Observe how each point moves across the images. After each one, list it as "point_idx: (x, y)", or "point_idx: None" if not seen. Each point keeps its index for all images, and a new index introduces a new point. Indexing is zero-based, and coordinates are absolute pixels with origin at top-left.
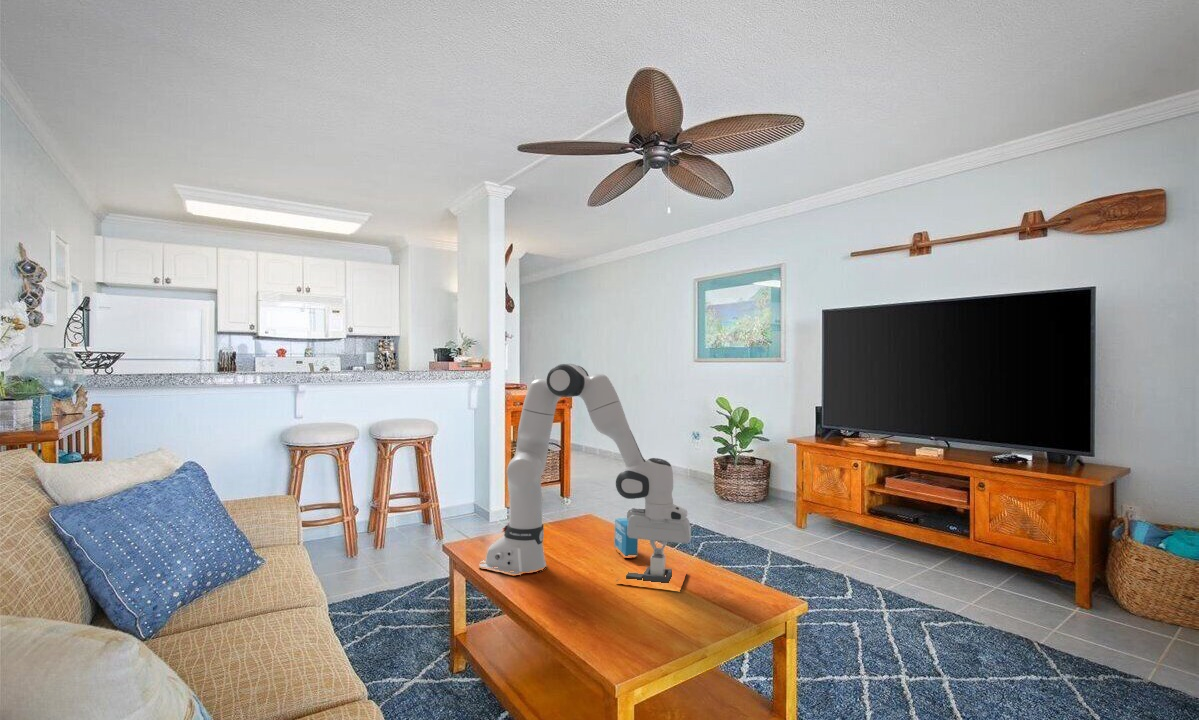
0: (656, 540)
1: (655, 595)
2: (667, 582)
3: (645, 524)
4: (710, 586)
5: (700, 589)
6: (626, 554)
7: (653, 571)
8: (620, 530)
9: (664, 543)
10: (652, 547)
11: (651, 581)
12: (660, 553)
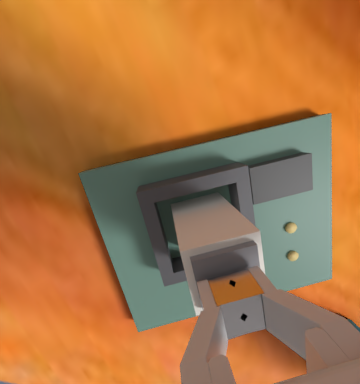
0: (307, 374)
1: (152, 92)
2: (141, 187)
3: None
4: (24, 278)
5: (38, 237)
6: (358, 330)
7: (215, 206)
8: None
9: (198, 377)
10: (292, 294)
11: (204, 170)
12: (212, 283)
